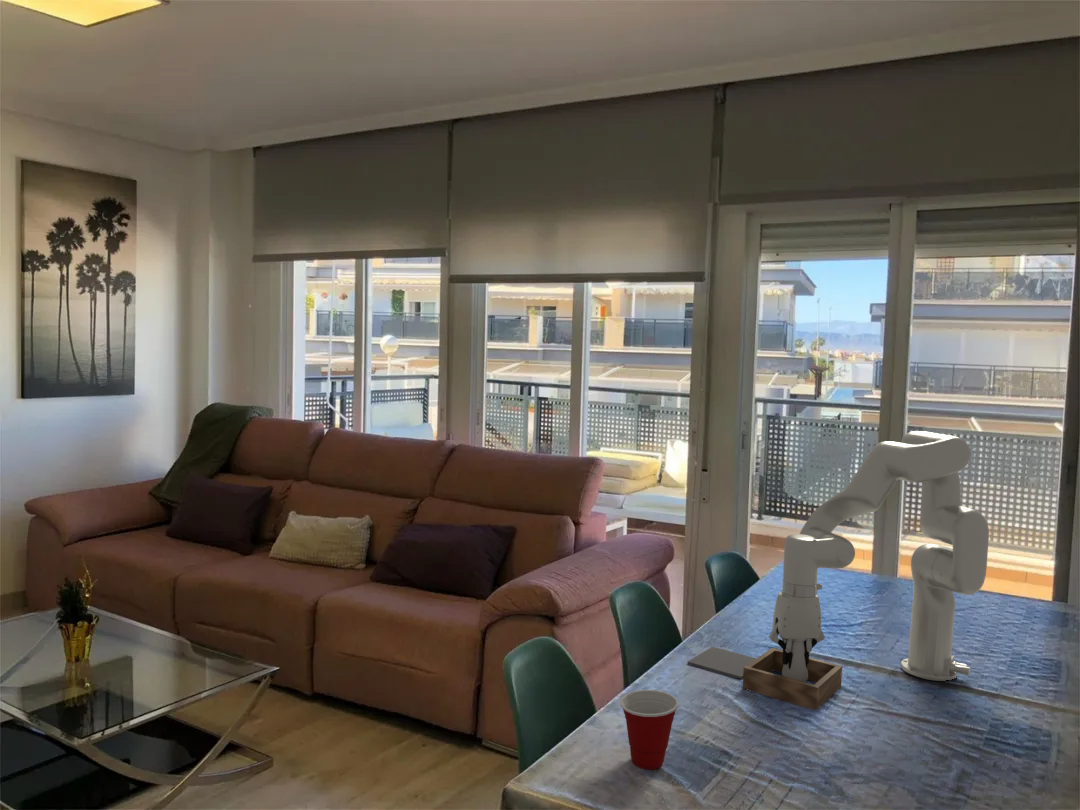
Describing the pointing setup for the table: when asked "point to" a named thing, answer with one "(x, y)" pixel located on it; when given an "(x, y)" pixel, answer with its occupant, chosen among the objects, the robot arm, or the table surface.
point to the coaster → (722, 661)
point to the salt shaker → (797, 662)
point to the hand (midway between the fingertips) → (795, 666)
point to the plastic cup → (648, 725)
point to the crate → (792, 680)
